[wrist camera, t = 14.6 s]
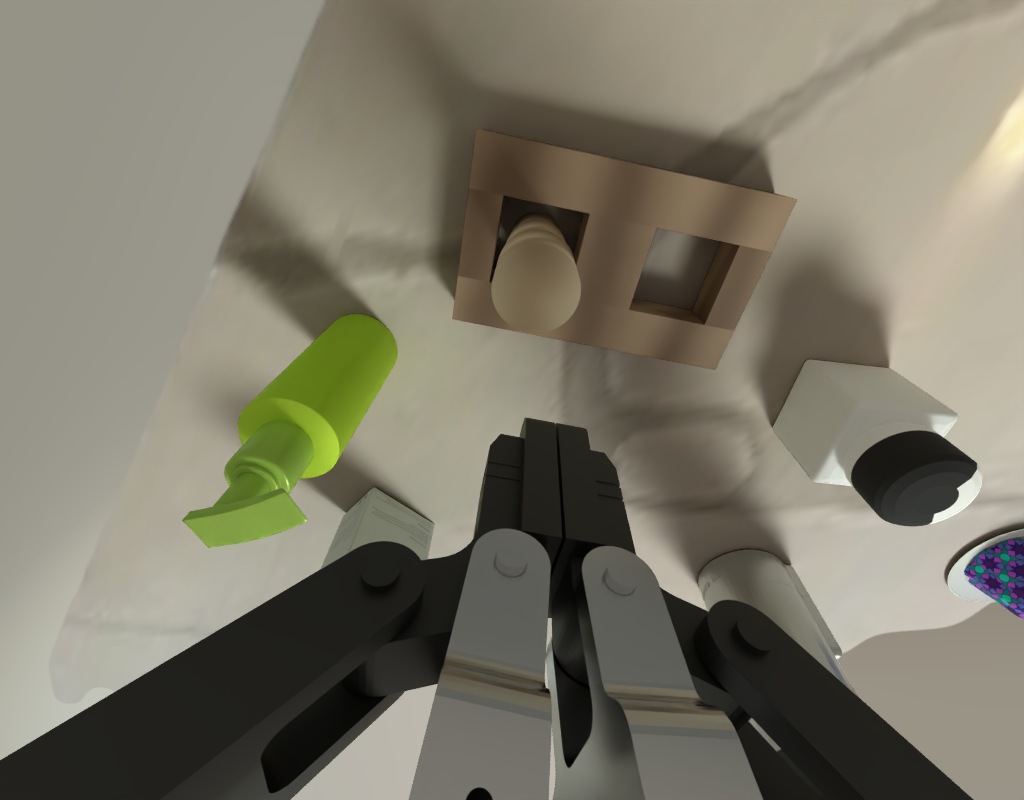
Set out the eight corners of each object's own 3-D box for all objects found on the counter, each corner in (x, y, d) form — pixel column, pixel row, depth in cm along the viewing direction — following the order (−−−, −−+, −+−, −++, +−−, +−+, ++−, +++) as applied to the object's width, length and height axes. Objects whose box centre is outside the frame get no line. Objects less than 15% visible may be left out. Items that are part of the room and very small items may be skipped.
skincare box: (344, 512, 48) (275, 652, 35) (376, 482, 45) (314, 620, 32) (408, 550, 50) (365, 693, 38) (441, 524, 48) (407, 667, 35)
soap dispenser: (420, 364, 38) (326, 558, 21) (348, 385, 39) (206, 582, 22) (389, 300, 35) (251, 464, 18) (313, 325, 36) (119, 498, 19)
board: (775, 193, 30) (799, 200, 27) (702, 352, 36) (716, 370, 33) (481, 129, 29) (475, 129, 26) (458, 304, 35) (451, 320, 32)
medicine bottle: (769, 429, 40) (850, 533, 30) (804, 357, 36) (911, 448, 26) (848, 437, 40) (956, 545, 30) (891, 367, 36) (1032, 461, 26)
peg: (573, 213, 31) (591, 255, 21) (558, 275, 33) (568, 340, 23) (511, 200, 31) (499, 236, 21) (500, 264, 33) (484, 324, 23)
